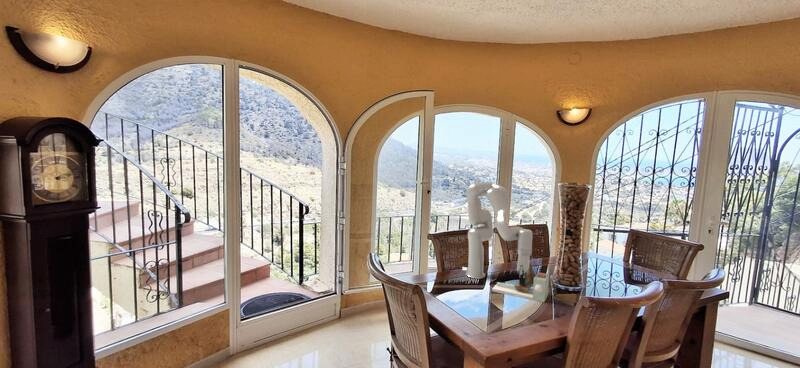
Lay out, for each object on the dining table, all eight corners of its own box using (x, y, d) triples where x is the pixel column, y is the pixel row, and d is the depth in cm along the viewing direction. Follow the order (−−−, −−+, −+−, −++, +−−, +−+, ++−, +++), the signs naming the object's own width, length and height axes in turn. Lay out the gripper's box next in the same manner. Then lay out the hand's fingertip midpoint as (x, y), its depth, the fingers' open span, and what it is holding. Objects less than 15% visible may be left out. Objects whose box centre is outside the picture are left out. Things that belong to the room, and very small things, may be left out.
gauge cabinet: (532, 299, 207) (533, 278, 206) (536, 292, 218) (538, 272, 216) (544, 302, 204) (545, 280, 203) (548, 294, 215) (549, 274, 213)
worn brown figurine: (527, 290, 227) (524, 263, 223) (520, 287, 232) (517, 260, 228) (540, 283, 233) (538, 256, 229) (533, 280, 238) (530, 253, 234)
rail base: (492, 291, 219) (492, 285, 218) (498, 284, 229) (498, 279, 229) (532, 299, 207) (532, 293, 207) (536, 292, 218) (537, 286, 217)
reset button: (538, 279, 209) (538, 273, 209) (539, 277, 212) (539, 272, 211) (543, 280, 208) (543, 274, 208) (544, 278, 210) (544, 273, 210)
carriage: (514, 290, 215) (514, 273, 214) (516, 287, 220) (517, 270, 219) (528, 293, 211) (529, 275, 210) (531, 289, 216) (531, 272, 215)
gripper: (521, 246, 222) (519, 277, 224) (513, 253, 208) (512, 286, 210) (534, 248, 219) (533, 279, 220) (528, 256, 204) (526, 288, 206)
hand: (522, 282), depth 215 cm, fingers closed on carriage, 4 cm apart
